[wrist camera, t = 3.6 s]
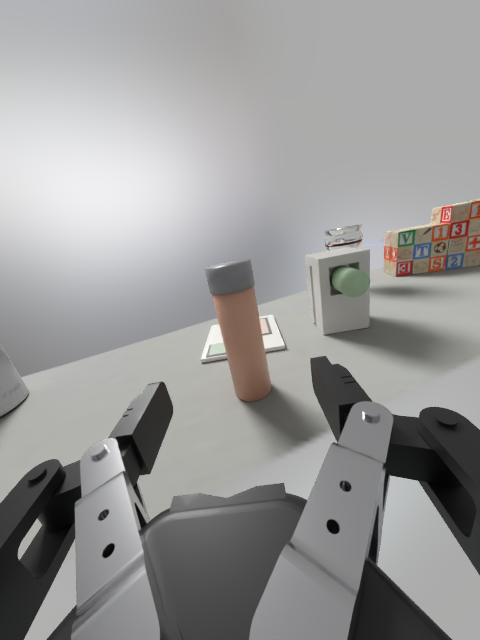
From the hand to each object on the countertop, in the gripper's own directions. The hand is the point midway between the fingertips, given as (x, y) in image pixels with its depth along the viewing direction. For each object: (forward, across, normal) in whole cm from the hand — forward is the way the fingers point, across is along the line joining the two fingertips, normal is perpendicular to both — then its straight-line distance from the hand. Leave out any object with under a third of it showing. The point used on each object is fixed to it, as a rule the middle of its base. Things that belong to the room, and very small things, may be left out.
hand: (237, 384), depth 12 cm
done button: (+17, -13, +1) cm, 21 cm away
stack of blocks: (+40, -43, +7) cm, 60 cm away
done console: (+21, -13, +7) cm, 25 cm away
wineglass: (+37, -21, +7) cm, 43 cm away
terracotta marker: (+9, 0, +7) cm, 11 cm away
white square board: (+22, +1, +7) cm, 23 cm away
